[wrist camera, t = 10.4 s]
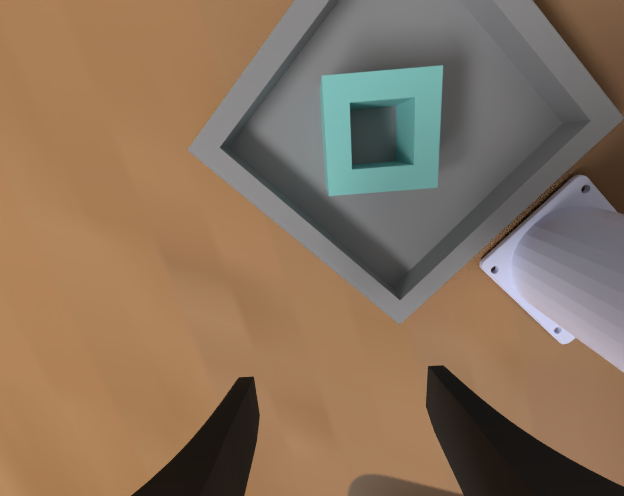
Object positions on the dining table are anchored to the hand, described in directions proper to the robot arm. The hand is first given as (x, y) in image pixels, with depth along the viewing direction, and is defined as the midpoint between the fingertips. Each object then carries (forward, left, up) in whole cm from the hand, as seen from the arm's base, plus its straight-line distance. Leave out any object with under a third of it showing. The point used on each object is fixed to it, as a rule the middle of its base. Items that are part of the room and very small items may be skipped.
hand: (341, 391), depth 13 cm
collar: (+5, -9, -9) cm, 14 cm away
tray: (+4, -10, -9) cm, 14 cm away
